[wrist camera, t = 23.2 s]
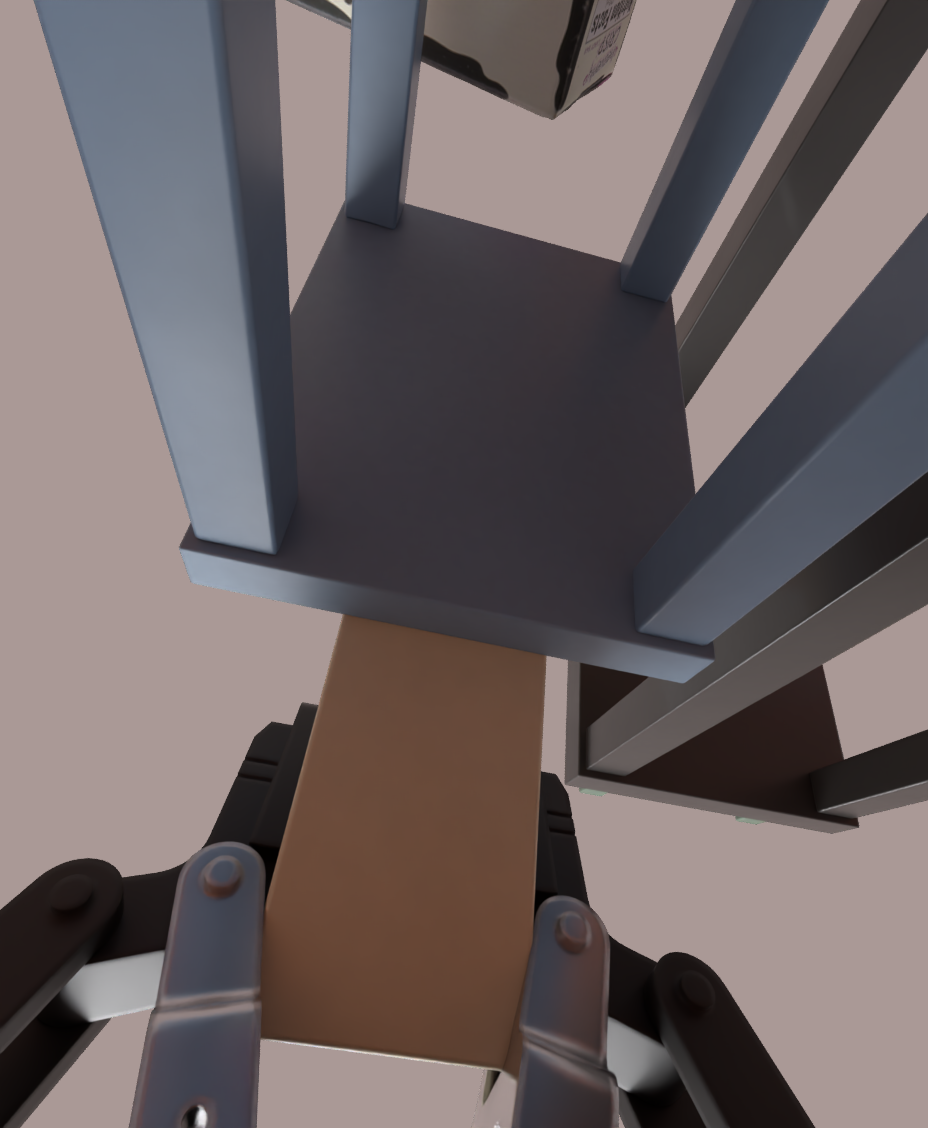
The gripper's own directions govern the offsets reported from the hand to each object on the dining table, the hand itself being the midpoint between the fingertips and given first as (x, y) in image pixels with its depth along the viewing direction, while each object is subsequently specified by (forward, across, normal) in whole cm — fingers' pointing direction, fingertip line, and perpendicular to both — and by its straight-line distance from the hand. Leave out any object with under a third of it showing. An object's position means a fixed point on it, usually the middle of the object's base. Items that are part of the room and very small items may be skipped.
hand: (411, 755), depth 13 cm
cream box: (+3, 0, -6) cm, 6 cm away
